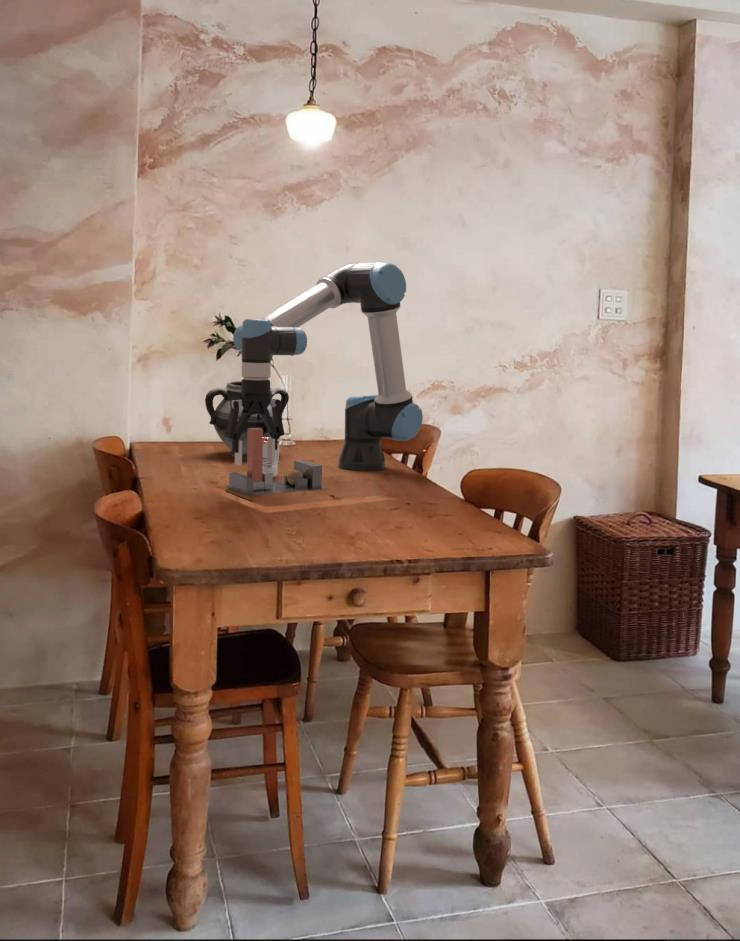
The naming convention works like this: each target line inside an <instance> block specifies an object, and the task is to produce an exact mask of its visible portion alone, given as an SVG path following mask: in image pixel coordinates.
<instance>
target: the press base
mask: <svg viewBox="0 0 740 941" xmlns="http://www.w3.org/2000/svg"><path fill="white" fill-rule="evenodd" d="M293 470H298V471H300V472H301V473H302V475H303V478H301V479H295V486H293V485H291V484H290V483H289V482H288V480H287V475H288V474H284V475H283V481H275V482H274V481H273V488H272V489H259V490H253V478H250V477H248V476H247V475H245V474H242V473H238V472H229V473H228V486H227V485H225V487H226V488H228V489H230V490H234V491H237V492H239V493H241V494H244V495H246V496H249V497H252V496H263V495H273V494H283V493H285V494H286V493H293V492H304V491H316V490H325V489H328V487H326V486H324V485H323V483H322V482H323V465H322V464H319V463H315V462H311V461H307V460H304V459H299V460H293ZM225 493H227V494H231V495H232V496H236V497H237V498H240V499H243V500H246V501H248V502H252V500H250V499H248V498H245V497H243V496H241V495H238V494H236V493H233V492H230V491H228V490H225Z"/></svg>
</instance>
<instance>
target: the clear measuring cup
mask: <svg viewBox="0 0 740 941" xmlns="http://www.w3.org/2000/svg"><path fill="white" fill-rule="evenodd" d="M268 438H271V437H263V466H262V471H266V472H269V473H272V474H273V478H274V477H277V476H278V473H279V471H278V469H279V457H280V441H281V439H280V438H279V439H278V443H277V450H275V463H270V462H267V447H268Z"/></svg>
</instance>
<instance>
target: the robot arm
mask: <svg viewBox="0 0 740 941" xmlns="http://www.w3.org/2000/svg"><path fill="white" fill-rule="evenodd" d="M405 293H407V281H406V278H405V275H404V273H403V271H402V270H401V269H400V268H399V266H397V265H395V264H393V263H389V262H383V261H380V262H379V261H378V262H376V261H375V262H353V263H348V264H346V265H343V266H341V267H339V268H337V269H335V270H333V271H332V272H329V273H327V274H326V275H324V276H323V277H321V278H319V279H318V280H317V282H316V284H315V286H312V288H310V289H308V290H306V291H305V292H303V293H302V294H300V295H298V296H297V297H295V298H294V299H292V300H290V301H289V302H286V303H285V304H283V305H282V306H280V307H279V308H277V309H275V310H274V311H272V312H270V313H269V314H266V316H263V317H261V318H246V319H244V320H243V321H242V324H241V325H239V326H238V327H237V328H235V330H234V333H233V337H232V339H233V340H232V341H233V344H234V347H235V348H236V349H237V350H239V351H240V352H241V377H242V378H243V379H242V380H240V381H241V392H242V397H241V399H240V400H236V401H235V400H231V401H230V406H231V410H230V415H229V419H228V424H227V428H226V433H225V437H227V438H230V439H231V440H232V451H233V452H234V453H235V458H234V465H235V466H239V467H240V466H241V467H242V466H243V459H242V441H241V440H239V439H240V437H241V435H242V433H243V430H244V428H245V426H246V424H247V422H248V419H249V418H250V417H251V415H254V414H260V415H261V416H262V418H263V421H264V423H265V425H266V427H267V430H268V432H269V434H270V436H271V438H268V447H267V462H270V463H275V450H277V443H278V439H280V438H281V437H283V436H285V430H284V423H283V420H282V419H283V417H282V418H281V412H280V401H281V399H277V398H272V399H271V398H270V396H269V394H270V388H271V380H270V378H271V369H272V368H271V364H272V363H271V361H272V356H273V357H274V356H291V357H293V356H298V355H299V356H300V355H302V354H303V353H304V352H305V351H306V349H307V346H308V336H307V334H306V332H305V331H304V329H302V328H300V327H301V326H303V325H304V324H306V323H308V322H309V321H310V320H312V319H314V318H315V317H317V316H318V315H321V314H322V313H324V312H326V311H327V310H328V309H336V308H339V306H341V305H344V304H351V303H353V304H354V303H355V304H357V303H358V304H360V310H361V313H362V314H363V315H365V317H367V322H368V323H367V324H368V329H369V336H370V344H371V351H372V352H371V353H372V358H373V363H374V364H373V366H374V372H375V373H374V374H375V378H376V380H375V381H376V385H377V394H375V395H374V394H373V395H357V396H349V397H347V399H346V402H345V408H344V443H343V446H342V449H341V452H340V455H339V458H338V464H337V465H338V468H340V469H343V470H348V471H349V470H350V471H363V472H365V471H366V472H367V471H368V472H369V471H370V472H371V471H380V470H385V469H386V465H387V464H386V458H385V454H384V450H383V447H382V439H388V440H392V441H393V440H394V441H397V442H400V441H402V442H406V441H410V440H413V438H415V436H417V435H418V433H419V431H420V429H421V428H422V425H423V416H424V415H423V410H422V408H421V407H420V406H419V405H418V404H417V403H414V400H413V394H412V392H410V391H408V390H407V386H406V378H405V372H404V363H403V356H402V348H401V339H400V333H399V332H400V331H399V327H398V326H399V325H398V316H397V312H398V311H399V309H401V302H402V301H403V300H404V298H405V297H406V296H405ZM269 404H270V405H271V407H272V414H273V419H274V424H275V426H274V424H273V422H272V420H271V417H270V413H269V411H268V409H267V407H268V406H269ZM240 405H242V406H243V410H242V412H241V417H240V419H239V421H238V423H237V425H236V422H237V418H238V413H239V408H240V407H241V406H240ZM235 427H236V428H235ZM384 468H385V469H384Z"/></svg>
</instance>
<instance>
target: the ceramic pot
mask: <svg viewBox="0 0 740 941" xmlns="http://www.w3.org/2000/svg"><path fill="white" fill-rule="evenodd" d="M275 395H280V412H281V418H282V421H283V420H284V419H283V413H284V410H285V409H286V407H287V405H288V403H289V400H290V398H289V397H290V396H289V393H288V391H287V390H286V389H285V388H283V387H279V386H273V387H270V394H269V396H270V398H271V399H273V397H274V396H275ZM216 396H222V397H223V399H222V400H221V401H220V402H219V403H218V405H217V406H216V408H215V407H214V399H215V397H216ZM241 397H242V392H241V380H231V381H228V382H227V384H226V387H225V388H224V387H213V388H212V389H209V390H208V392H207V393H206V395H205V399H204V403H205V408H206V411H207V413H208V415H209V416H210V421H209V425H213V428H214V429H215V431H216V433H217V435H218V437H219V438H220V440H221V441H222V442H223V443H224V445H225V446H226V447H228V449H229V450H230V452H231V453H230V454H231V458H234V459H235V453H234V452H233V451H232V440H231V439H230V438H227V437H225V433H226V428H227V424H228V419H229V415H230V410H231V406H230V401H231V400H235V401H236V400H240V399H241ZM240 406H241V407H240V408H239V413H238V418H237V422H236V425H237V423H238V421H239V419H240V417H241V412H242V410H243V406H242V405H240ZM267 409H268V411H269V413H270V417H271V420H272V422H273V424H274V419H273V414H272V407H271V405H270V404H269V406H268V407H267ZM274 426H275V424H274ZM235 428H236V427H235ZM248 428H260V429H263V437H271V436H270V434H269V432H268V430H267V427H266V425H265V423H264V421H263V418H262V416H261V415H260V414H254V415H251V417H250V418H249V419H248V422H247V424H246V426H245V428H244V430H243V433H242V435H241V437H240V439H239V440H241V441H242V460H247V432H248Z"/></svg>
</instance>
